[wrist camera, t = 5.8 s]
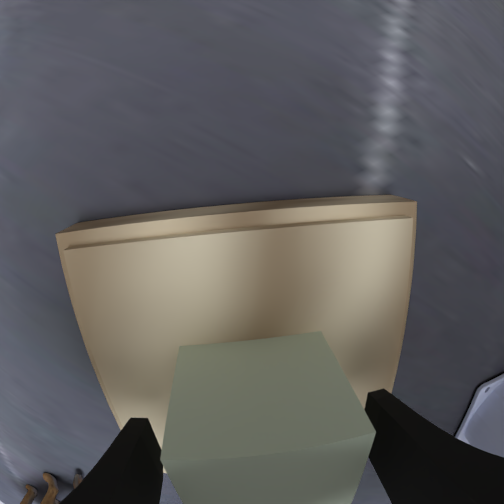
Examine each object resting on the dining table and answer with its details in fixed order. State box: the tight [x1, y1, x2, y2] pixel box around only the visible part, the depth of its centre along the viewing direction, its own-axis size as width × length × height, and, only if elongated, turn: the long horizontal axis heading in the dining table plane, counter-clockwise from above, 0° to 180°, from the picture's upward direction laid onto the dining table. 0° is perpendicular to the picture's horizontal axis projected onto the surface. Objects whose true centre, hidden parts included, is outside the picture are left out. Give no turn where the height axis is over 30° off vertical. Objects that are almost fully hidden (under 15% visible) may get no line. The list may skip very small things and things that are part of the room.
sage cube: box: [160, 331, 376, 504], centre depth 9 cm, size 5×5×5 cm
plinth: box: [56, 195, 417, 473], centre depth 12 cm, size 13×13×2 cm
